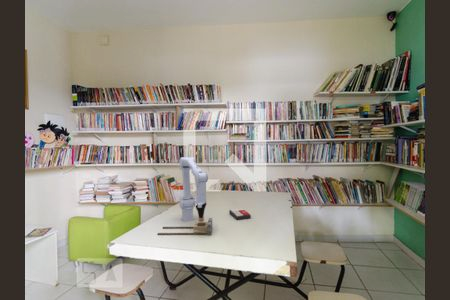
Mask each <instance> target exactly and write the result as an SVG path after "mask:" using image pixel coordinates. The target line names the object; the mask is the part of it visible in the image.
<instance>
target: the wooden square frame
mask: <svg viewBox="0 0 450 300" xmlns="http://www.w3.org/2000/svg"><path fill="white" fill-rule="evenodd" d="M207 224H208V221H203V222H199V221H196V222H195V223H194V224H193V225H194V226H192V227H193V229H192V230H193V232H192V233H207Z"/></svg>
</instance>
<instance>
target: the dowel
mask: <svg viewBox="0 0 450 300" xmlns="http://www.w3.org/2000/svg"><path fill="white" fill-rule="evenodd" d="M204 215H205V213H204V214H203V218H199V217H198V222H205V220H204V219H205V218H204V217H205V216H204Z"/></svg>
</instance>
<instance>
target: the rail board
mask: <svg viewBox="0 0 450 300" xmlns="http://www.w3.org/2000/svg"><path fill="white" fill-rule="evenodd" d="M207 222H208V224H207V233H193V232H158V233H157V236H208V237H211V236H212V231H213V217H208V221H207ZM193 227H194V226H163V227H162V229H163V230H170V229H171V230H178V229H179V230H187V229H189V230H191V229H192V230H193Z"/></svg>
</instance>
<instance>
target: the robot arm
mask: <svg viewBox="0 0 450 300" xmlns="http://www.w3.org/2000/svg"><path fill="white" fill-rule="evenodd" d="M178 164H179V170H180V171H181V172H182V187H183V189H182V190H183V194H182V195H181V196H180V197H179V202H178V203H179V208H180V209H181V221H182V222H191V221H195V218H194V210H193V209H194V208H195V209H196V211H197V214H198V215H197V216H198V219H199V218H203V214H204V215H205V209H206V206H207V182H208V180H209V177H208V176H209V175H208V173H207V172H204V171H203V170H202V168H201V167H200V166H199V165H197V163H196V158H195V157H194V156H191V157H190V156H189V157H187V156H186V157H182V156H181V157H180V158H179V162H178ZM190 171H191V173H190ZM190 174H192V175H193V177H194V183H195V192H196V195H193V194H192V191H191V179H190V178H191V176H190ZM195 196H196V199H195Z"/></svg>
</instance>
